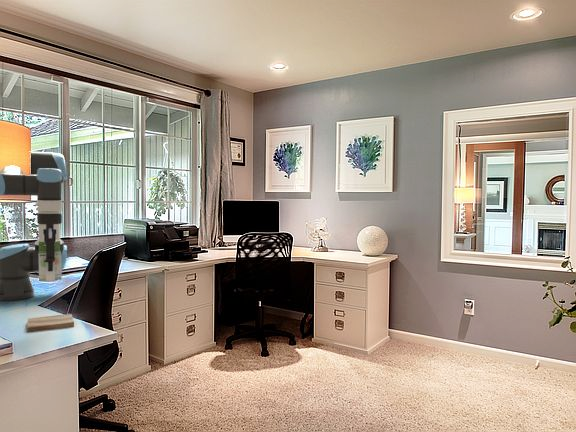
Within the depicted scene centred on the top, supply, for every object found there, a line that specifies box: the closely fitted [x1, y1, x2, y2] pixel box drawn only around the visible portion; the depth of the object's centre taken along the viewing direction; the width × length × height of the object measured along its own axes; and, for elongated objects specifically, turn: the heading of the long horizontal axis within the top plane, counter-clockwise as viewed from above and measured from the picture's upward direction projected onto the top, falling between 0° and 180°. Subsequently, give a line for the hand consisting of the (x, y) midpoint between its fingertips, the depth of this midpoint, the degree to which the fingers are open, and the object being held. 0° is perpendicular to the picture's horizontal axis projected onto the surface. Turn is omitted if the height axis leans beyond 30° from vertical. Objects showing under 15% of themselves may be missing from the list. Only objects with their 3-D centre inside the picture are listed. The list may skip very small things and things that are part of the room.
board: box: [26, 313, 75, 333], centre depth 153 cm, size 12×14×2 cm
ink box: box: [38, 241, 62, 282], centre depth 152 cm, size 7×4×13 cm, turn 120°
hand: (50, 279), depth 152 cm, fingers closed on ink box, 4 cm apart
